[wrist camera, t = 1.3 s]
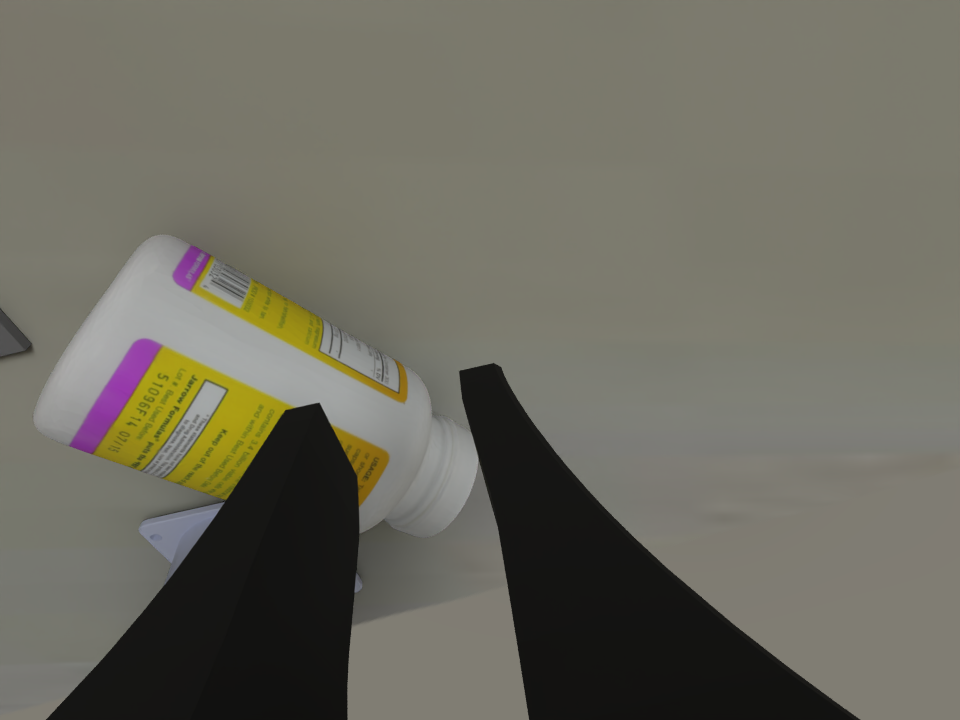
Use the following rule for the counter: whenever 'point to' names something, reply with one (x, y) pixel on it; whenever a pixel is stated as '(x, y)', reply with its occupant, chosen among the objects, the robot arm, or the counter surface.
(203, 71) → the counter surface
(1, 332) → the mat
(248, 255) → the counter surface
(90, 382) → the supplement bottle
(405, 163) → the counter surface
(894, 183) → the counter surface
